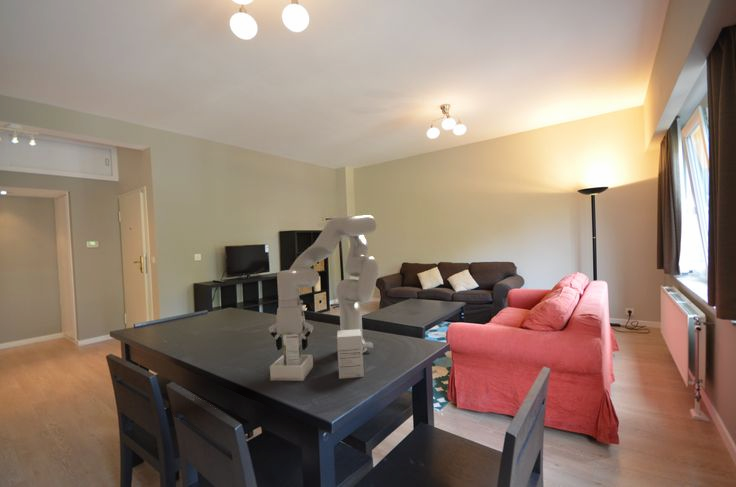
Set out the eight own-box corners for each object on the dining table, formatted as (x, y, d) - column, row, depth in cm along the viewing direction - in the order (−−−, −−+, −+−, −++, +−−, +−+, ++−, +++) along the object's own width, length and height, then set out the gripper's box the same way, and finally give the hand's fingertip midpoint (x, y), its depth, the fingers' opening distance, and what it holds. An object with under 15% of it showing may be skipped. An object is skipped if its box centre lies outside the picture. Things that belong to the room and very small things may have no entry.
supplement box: (338, 369, 126) (336, 330, 125) (362, 367, 126) (360, 328, 126) (338, 379, 117) (336, 337, 116) (363, 377, 117) (361, 335, 117)
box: (313, 367, 129) (312, 354, 129) (302, 380, 117) (302, 366, 117) (283, 367, 130) (283, 354, 130) (270, 380, 118) (269, 366, 118)
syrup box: (287, 368, 126) (285, 330, 126) (303, 367, 126) (301, 329, 126) (284, 374, 121) (282, 334, 120) (300, 373, 121) (298, 333, 121)
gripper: (314, 300, 126) (317, 345, 126) (271, 302, 128) (274, 345, 129) (308, 304, 118) (311, 352, 119) (262, 306, 121) (265, 352, 121)
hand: (292, 348), depth 124 cm, fingers open, 9 cm apart
